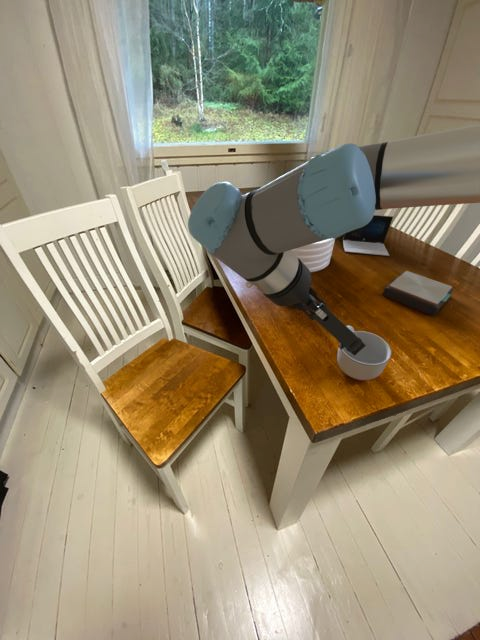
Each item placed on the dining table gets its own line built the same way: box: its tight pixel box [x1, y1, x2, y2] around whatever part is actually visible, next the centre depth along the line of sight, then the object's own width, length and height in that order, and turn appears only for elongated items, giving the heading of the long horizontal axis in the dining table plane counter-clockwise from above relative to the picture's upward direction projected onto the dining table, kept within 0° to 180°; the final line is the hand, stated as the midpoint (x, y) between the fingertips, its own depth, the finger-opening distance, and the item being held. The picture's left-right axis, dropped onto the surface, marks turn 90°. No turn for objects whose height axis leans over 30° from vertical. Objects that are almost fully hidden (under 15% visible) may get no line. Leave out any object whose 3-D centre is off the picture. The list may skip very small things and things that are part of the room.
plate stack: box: [292, 238, 336, 273], centre depth 111 cm, size 28×28×12 cm
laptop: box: [342, 214, 394, 257], centre depth 117 cm, size 18×12×13 cm
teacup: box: [336, 325, 392, 381], centre depth 65 cm, size 14×11×8 cm
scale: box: [382, 270, 455, 317], centre depth 90 cm, size 16×16×4 cm
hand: (335, 327), depth 55 cm, fingers open, 13 cm apart
